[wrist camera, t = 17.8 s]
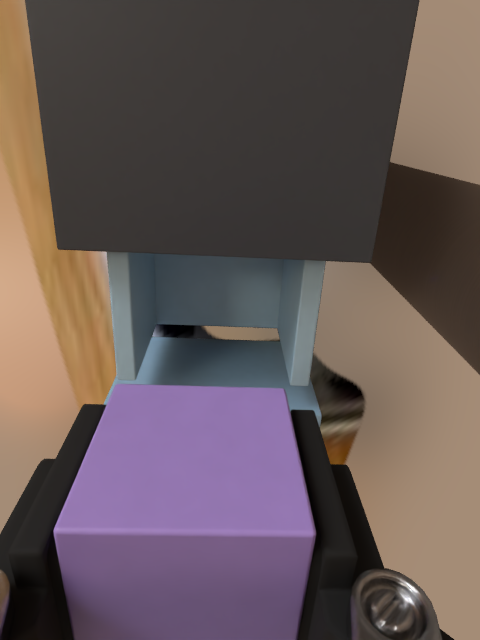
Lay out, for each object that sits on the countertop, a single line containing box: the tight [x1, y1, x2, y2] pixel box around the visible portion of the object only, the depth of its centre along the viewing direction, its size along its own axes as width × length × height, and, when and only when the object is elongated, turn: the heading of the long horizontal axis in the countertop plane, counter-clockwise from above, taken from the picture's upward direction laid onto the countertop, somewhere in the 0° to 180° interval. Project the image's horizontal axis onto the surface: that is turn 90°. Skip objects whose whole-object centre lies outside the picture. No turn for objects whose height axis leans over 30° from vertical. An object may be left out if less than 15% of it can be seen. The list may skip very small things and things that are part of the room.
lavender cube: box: [54, 384, 316, 640], centre depth 9 cm, size 4×4×4 cm
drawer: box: [103, 252, 326, 428], centre depth 21 cm, size 15×9×7 cm, turn 177°
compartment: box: [25, 0, 419, 263], centre depth 16 cm, size 12×11×9 cm
